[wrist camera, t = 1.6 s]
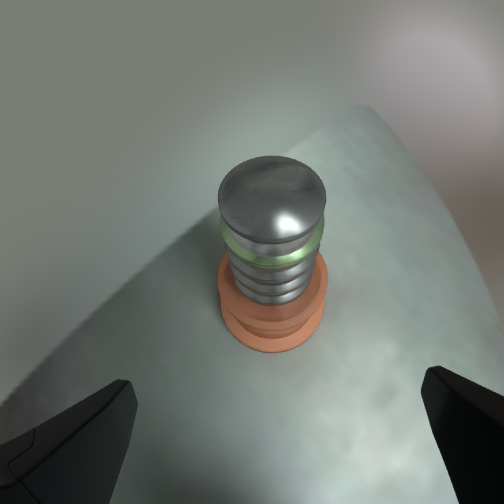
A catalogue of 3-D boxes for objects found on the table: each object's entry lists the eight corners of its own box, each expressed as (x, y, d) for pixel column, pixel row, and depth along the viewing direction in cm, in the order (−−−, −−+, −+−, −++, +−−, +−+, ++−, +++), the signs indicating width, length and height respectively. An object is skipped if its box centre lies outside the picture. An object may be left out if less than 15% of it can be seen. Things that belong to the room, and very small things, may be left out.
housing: (326, 349, 22) (341, 331, 17) (221, 353, 22) (207, 336, 18) (317, 257, 25) (326, 220, 21) (223, 260, 26) (213, 224, 21)
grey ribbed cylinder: (314, 308, 18) (338, 240, 11) (233, 311, 18) (210, 244, 12) (307, 239, 20) (320, 152, 14) (234, 242, 20) (217, 156, 14)
